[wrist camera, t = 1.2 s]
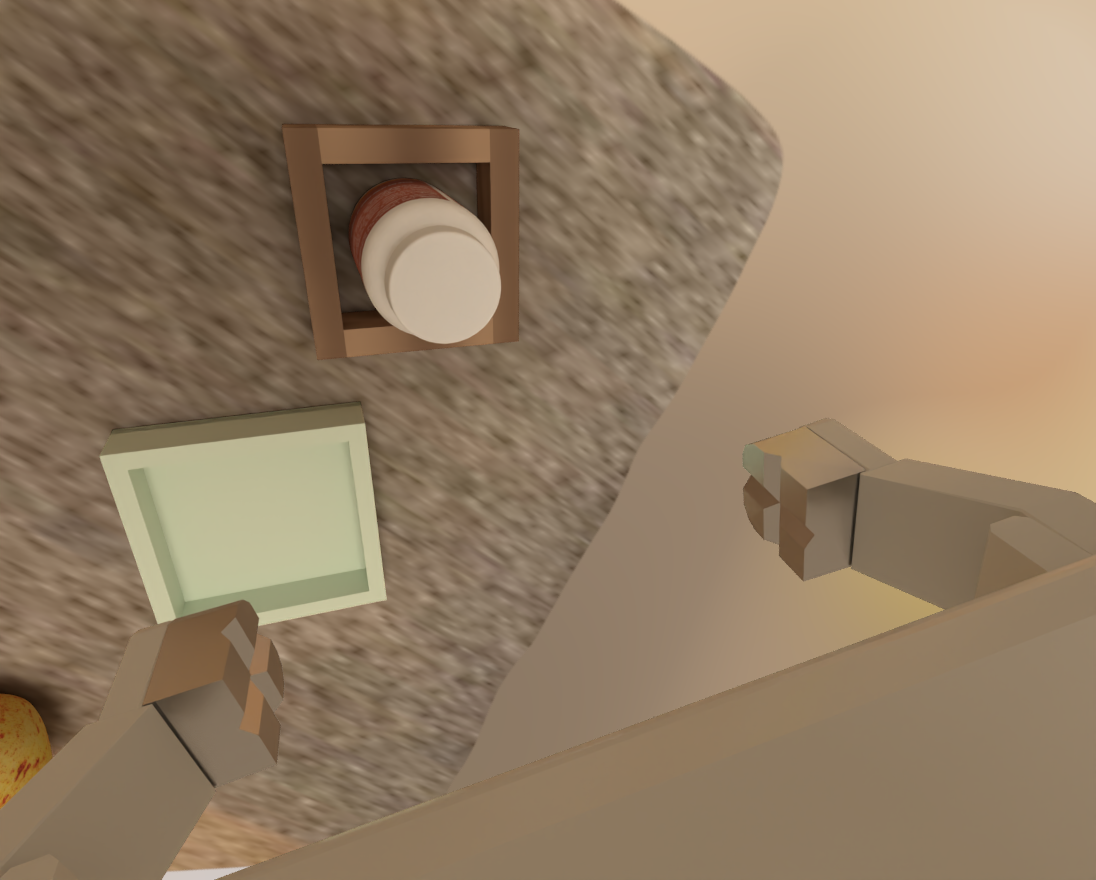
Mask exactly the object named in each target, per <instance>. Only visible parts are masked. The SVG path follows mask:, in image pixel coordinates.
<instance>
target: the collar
mask: <svg viewBox="0 0 1096 880" xmlns="http://www.w3.org/2000/svg"><path fill="white" fill-rule="evenodd" d="M282 132H283V139H284V145H285V152H286V159H287V165H288V172H289V178H290V185H291V191H292V198H293V204H294V211H295V217H296V224H297V230H298V237H299V243H300V250H301V256H302V263H303V269H304V276H305V282H306V289H307V295H308V302H309V309H310V315H311V322H312V328H313V335H314V341H315V348H316V354H317V360H323V359H333V358H344V357H355V356H365V355H376V354H387V353H397V352H408V351H419V350H430V349H440V348H451V347H462V346H472V345H483V344H494V343H504V342H515V341H519V129H515V128H511V127H506V126H464V125H343V124H282ZM368 163H476V170H477V208H478V219H479V220H480V221H481V222H482V224H483V225H484V226H485V227H486V229H487V230H488V232H489V233H490V235H491V237H492V239H493V241H494V244H495V246H496V250H497V253H498V259H499V273H500V279H501V294H500V300H499V303H498V306H497V309H496V311H495V313H494V315H493V316H492V318H491V319H490V321H489V322H488V323H487V325H486V326H485V327H484V328H483V329H481V330H480V331H479V332H478V333H476V334H475V335H473V336H471V337H470V338H468V339H465V340H462V341H460V342H455V343H449V344H440V343H433V342H428V341H425V340H423V339H421V338H419V337H417V336H415V335H412V334H409V333H406V332H404V331H402V330H400V329H398V328H396V327H395V326H393V325H392V324H390V323H389V322H388V321H387V320H386V319H384V318H383V317H382V316H381V314H380V313H379V312H378V311H377V310H375V311H361V312H348V313H341V307H340V299H339V291H338V284H337V276H336V268H335V261H334V253H333V245H332V238H331V230H330V222H329V215H328V207H327V199H326V191H325V184H324V176H323V168H322V164H368Z"/></svg>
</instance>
